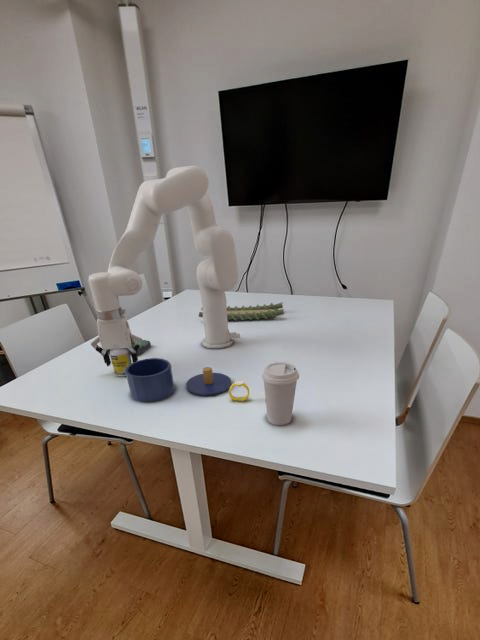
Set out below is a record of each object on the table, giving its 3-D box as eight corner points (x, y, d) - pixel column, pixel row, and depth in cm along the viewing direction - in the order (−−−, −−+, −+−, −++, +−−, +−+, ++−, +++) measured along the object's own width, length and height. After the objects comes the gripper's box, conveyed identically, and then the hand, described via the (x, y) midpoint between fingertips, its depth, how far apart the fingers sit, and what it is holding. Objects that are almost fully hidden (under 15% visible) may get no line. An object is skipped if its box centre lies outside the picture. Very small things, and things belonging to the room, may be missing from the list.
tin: (175, 380, 120) (171, 356, 115) (172, 400, 109) (168, 375, 104) (135, 383, 119) (129, 359, 115) (128, 403, 108) (121, 378, 103)
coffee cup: (287, 432, 92) (289, 380, 84) (255, 422, 97) (254, 372, 88) (302, 414, 99) (305, 364, 90) (272, 406, 103) (272, 358, 95)
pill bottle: (111, 375, 125) (102, 344, 119) (122, 367, 130) (115, 337, 124) (126, 377, 123) (118, 346, 117) (137, 370, 128) (130, 339, 122)
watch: (229, 402, 106) (227, 384, 103) (230, 397, 109) (228, 380, 105) (249, 402, 106) (248, 384, 102) (249, 397, 108) (249, 380, 105)
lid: (229, 374, 122) (228, 357, 119) (233, 394, 110) (231, 377, 107) (187, 377, 121) (185, 361, 118) (185, 398, 109) (183, 381, 106)
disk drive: (106, 353, 143) (138, 356, 139) (104, 347, 141) (137, 349, 137) (120, 344, 151) (151, 346, 147) (119, 337, 149) (150, 339, 145)
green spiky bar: (282, 311, 178) (282, 301, 176) (284, 320, 166) (284, 309, 164) (202, 314, 181) (201, 304, 178) (198, 323, 169) (197, 312, 166)
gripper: (138, 309, 119) (148, 357, 128) (85, 312, 118) (99, 361, 127) (135, 315, 112) (145, 366, 122) (79, 319, 112) (94, 370, 121)
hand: (122, 363), depth 125 cm, fingers open, 8 cm apart
